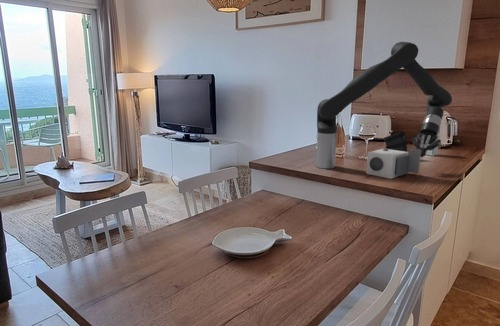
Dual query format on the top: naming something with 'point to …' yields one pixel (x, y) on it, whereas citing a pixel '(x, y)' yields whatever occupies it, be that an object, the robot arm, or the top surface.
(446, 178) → the top surface
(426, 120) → the robot arm
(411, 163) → the side door
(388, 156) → the knobbed white box
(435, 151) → the syrup box
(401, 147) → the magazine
